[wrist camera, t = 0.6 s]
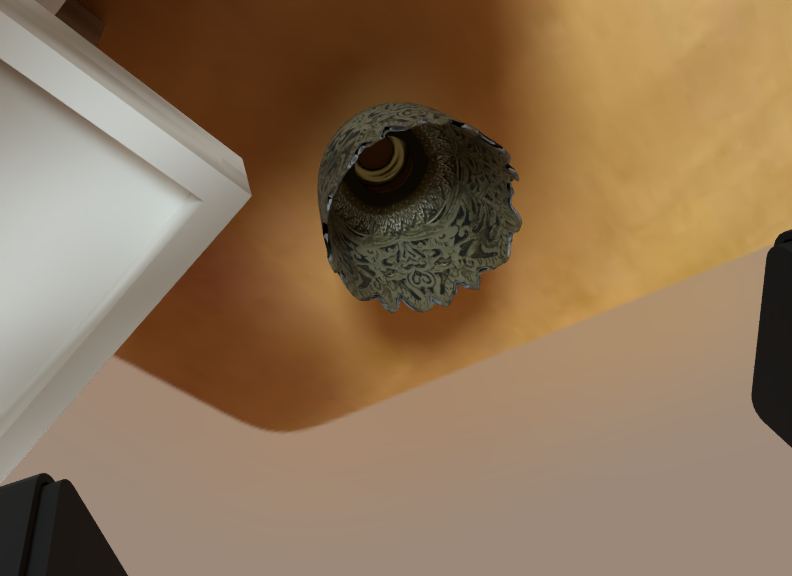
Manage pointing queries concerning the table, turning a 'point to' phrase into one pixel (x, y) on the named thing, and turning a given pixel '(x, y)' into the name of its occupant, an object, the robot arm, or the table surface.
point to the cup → (415, 206)
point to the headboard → (88, 209)
